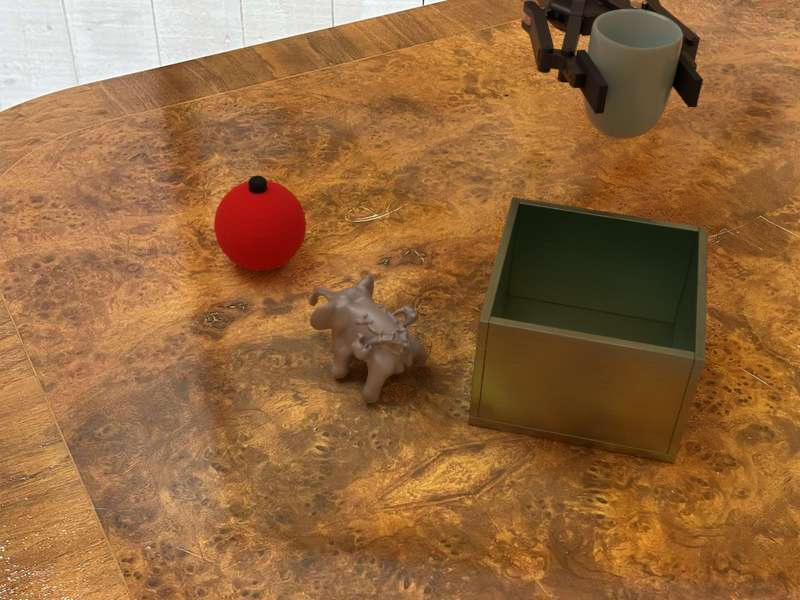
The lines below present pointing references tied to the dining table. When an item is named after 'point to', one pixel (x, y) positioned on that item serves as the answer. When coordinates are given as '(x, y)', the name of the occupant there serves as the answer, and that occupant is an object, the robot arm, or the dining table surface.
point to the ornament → (260, 224)
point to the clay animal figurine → (367, 334)
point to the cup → (633, 69)
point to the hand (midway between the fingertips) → (649, 96)
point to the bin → (592, 329)
